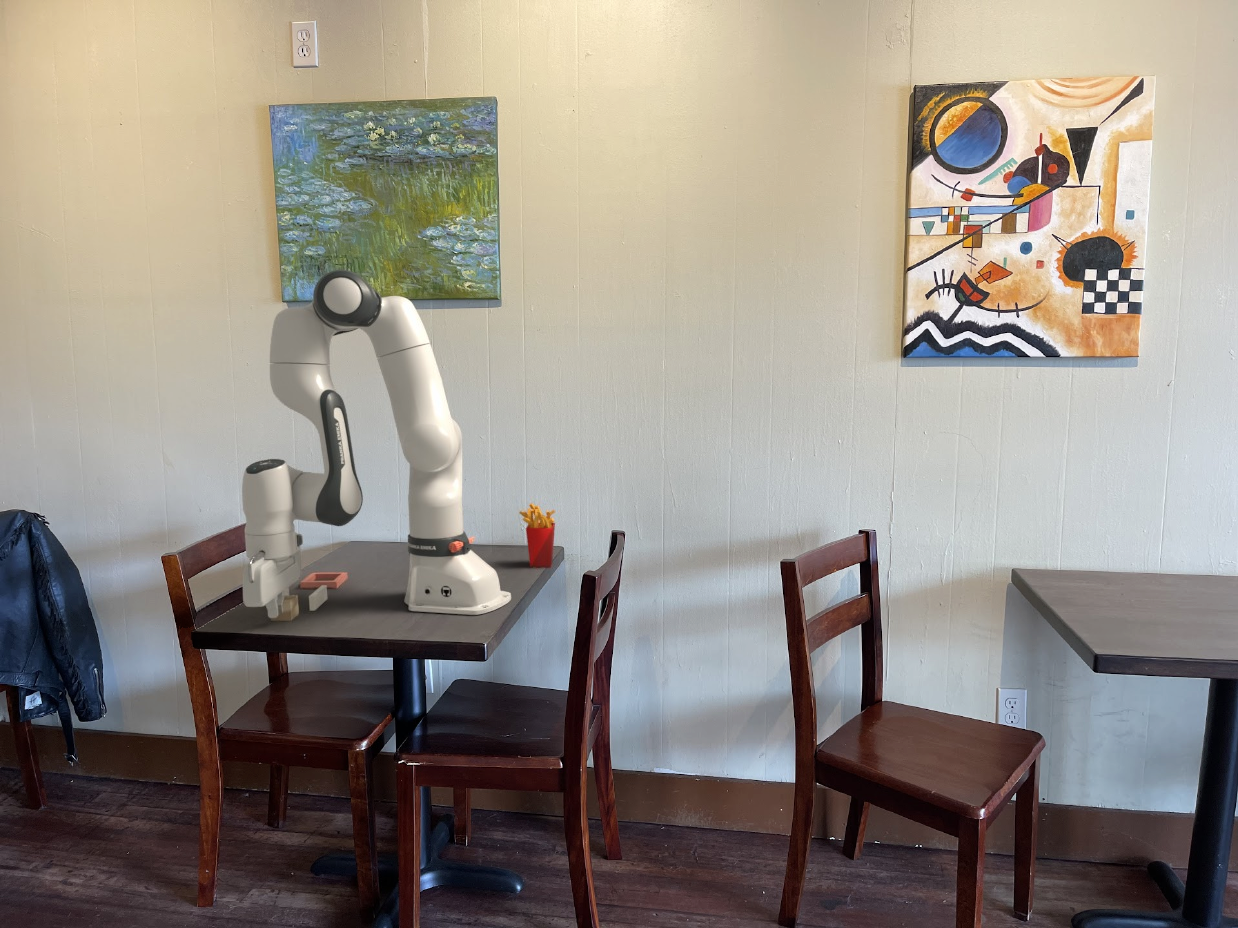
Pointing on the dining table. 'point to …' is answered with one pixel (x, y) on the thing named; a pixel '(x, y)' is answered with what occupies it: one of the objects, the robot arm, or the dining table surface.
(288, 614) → the beech block
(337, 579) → the frame
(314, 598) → the walled lane
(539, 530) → the french fries
